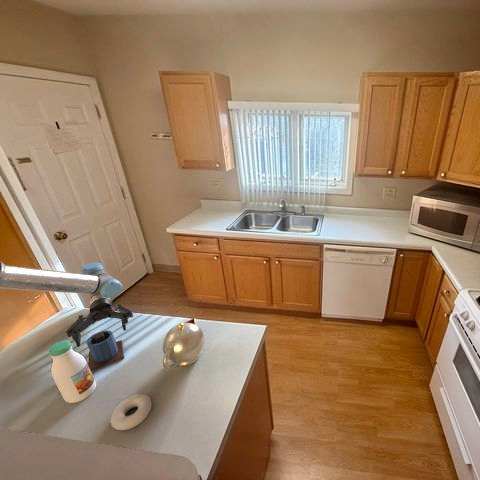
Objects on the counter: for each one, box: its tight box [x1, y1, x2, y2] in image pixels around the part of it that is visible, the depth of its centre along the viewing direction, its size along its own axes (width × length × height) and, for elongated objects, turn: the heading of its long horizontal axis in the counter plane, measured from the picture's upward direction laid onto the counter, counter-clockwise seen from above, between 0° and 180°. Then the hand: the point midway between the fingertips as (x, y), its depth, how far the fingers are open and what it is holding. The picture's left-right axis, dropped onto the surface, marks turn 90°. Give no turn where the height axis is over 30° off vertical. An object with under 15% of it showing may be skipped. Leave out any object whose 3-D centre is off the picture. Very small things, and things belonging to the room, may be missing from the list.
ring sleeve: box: [86, 330, 118, 362], centre depth 93 cm, size 7×7×8 cm
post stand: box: [87, 333, 125, 372], centre depth 93 cm, size 10×10×10 cm
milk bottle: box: [47, 340, 97, 404], centre depth 78 cm, size 8×8×20 cm
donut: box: [110, 393, 152, 432], centre depth 76 cm, size 10×4×10 cm
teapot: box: [162, 317, 206, 372], centre depth 91 cm, size 18×14×16 cm
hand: (101, 335), depth 95 cm, fingers open, 13 cm apart
